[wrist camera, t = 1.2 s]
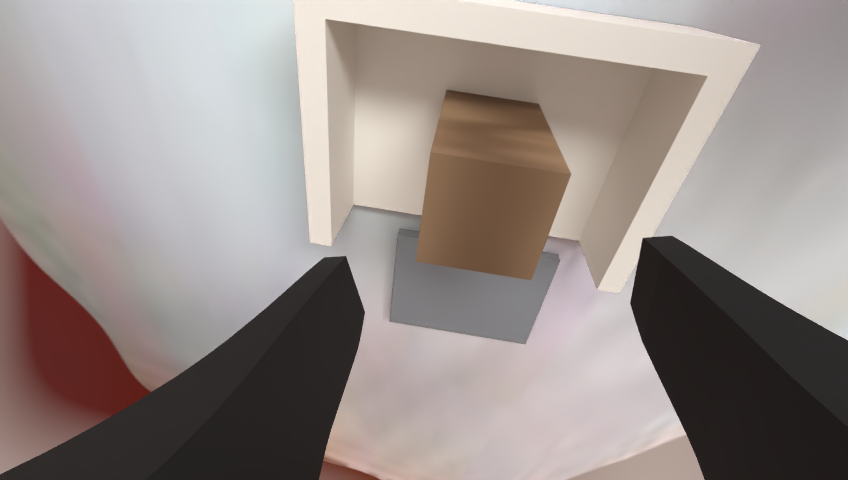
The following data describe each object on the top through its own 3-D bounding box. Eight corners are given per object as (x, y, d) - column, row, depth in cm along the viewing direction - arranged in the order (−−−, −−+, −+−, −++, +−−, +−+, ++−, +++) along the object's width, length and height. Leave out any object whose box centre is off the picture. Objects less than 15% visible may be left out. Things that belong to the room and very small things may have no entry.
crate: (692, 26, 15) (761, 45, 11) (594, 237, 21) (619, 293, 17) (335, -26, 15) (291, -25, 12) (338, 196, 21) (310, 242, 17)
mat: (557, 254, 22) (560, 261, 21) (524, 337, 26) (525, 344, 25) (399, 229, 22) (397, 235, 21) (391, 314, 26) (389, 321, 25)
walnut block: (538, 103, 16) (571, 173, 11) (515, 186, 19) (531, 280, 13) (446, 89, 17) (430, 152, 11) (434, 173, 19) (415, 261, 13)
